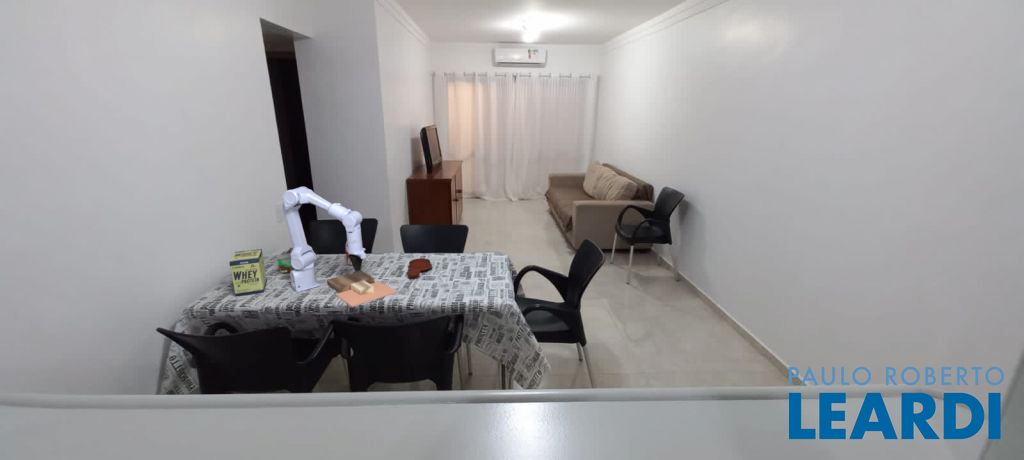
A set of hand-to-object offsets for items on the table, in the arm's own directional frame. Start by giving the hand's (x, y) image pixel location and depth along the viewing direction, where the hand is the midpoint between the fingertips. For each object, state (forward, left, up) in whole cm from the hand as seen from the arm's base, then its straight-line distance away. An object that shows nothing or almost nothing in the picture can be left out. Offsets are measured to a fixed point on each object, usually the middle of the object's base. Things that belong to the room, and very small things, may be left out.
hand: (357, 270), depth 178 cm
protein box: (-33, +34, -9) cm, 49 cm away
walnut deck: (0, +8, -9) cm, 12 cm away
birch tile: (0, -3, -8) cm, 9 cm away
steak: (+29, -1, -9) cm, 30 cm away
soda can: (+13, +33, -9) cm, 37 cm away
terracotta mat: (0, -7, -9) cm, 11 cm away
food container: (-13, +45, -9) cm, 48 cm away
